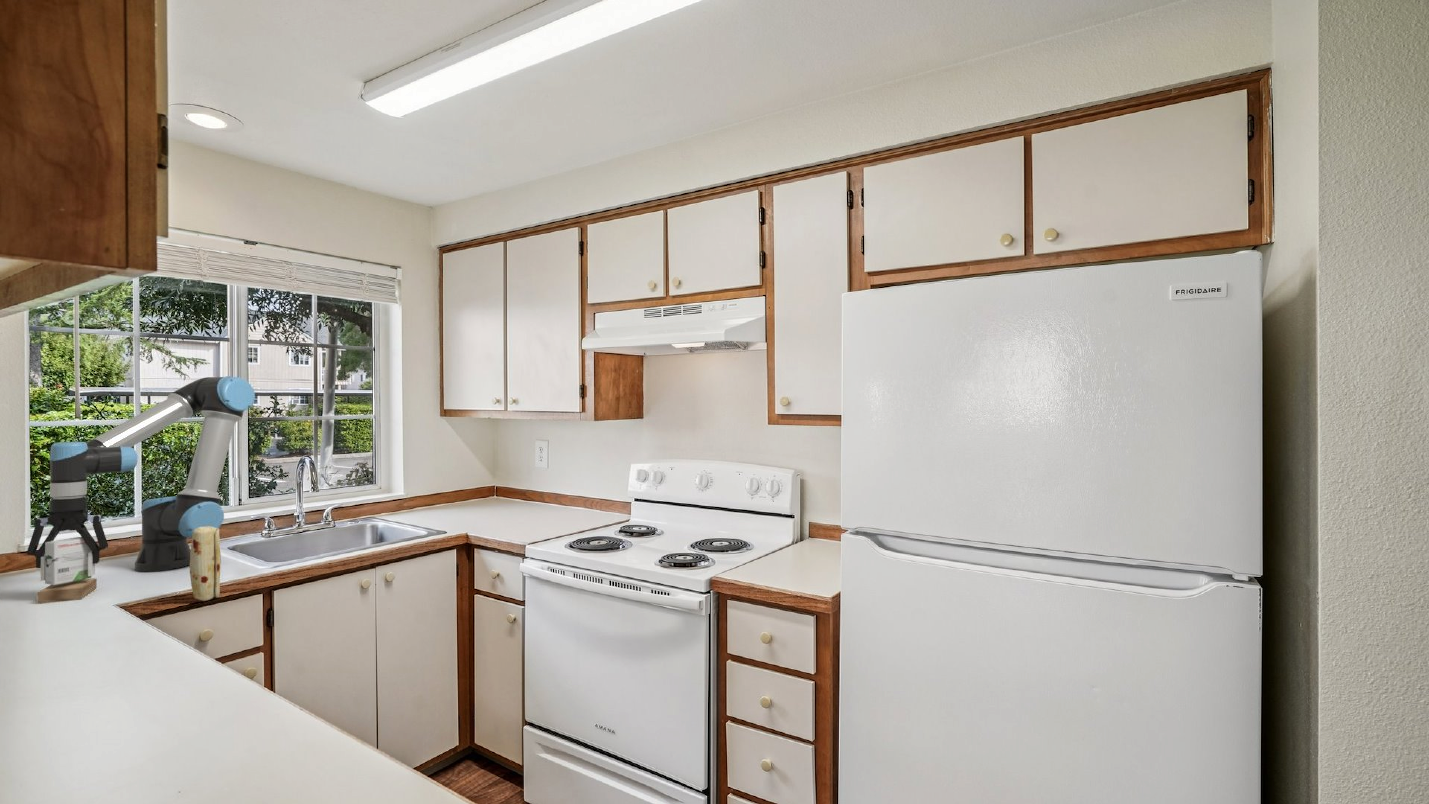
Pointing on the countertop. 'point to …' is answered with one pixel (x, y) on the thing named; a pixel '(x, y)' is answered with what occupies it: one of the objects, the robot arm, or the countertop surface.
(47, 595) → the base
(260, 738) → the countertop surface
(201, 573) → the food model
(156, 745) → the countertop surface
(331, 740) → the countertop surface
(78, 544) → the ink box
